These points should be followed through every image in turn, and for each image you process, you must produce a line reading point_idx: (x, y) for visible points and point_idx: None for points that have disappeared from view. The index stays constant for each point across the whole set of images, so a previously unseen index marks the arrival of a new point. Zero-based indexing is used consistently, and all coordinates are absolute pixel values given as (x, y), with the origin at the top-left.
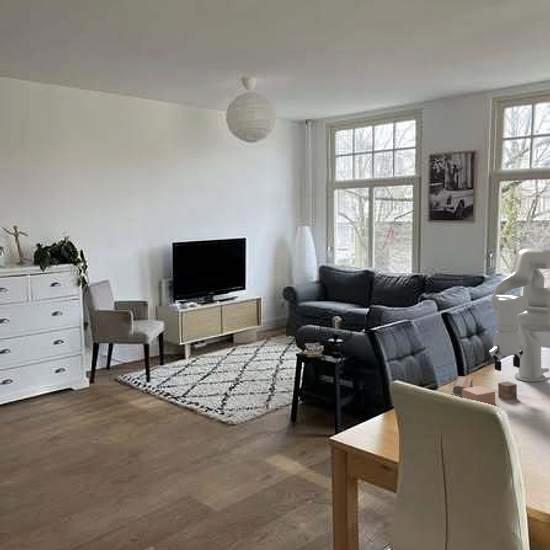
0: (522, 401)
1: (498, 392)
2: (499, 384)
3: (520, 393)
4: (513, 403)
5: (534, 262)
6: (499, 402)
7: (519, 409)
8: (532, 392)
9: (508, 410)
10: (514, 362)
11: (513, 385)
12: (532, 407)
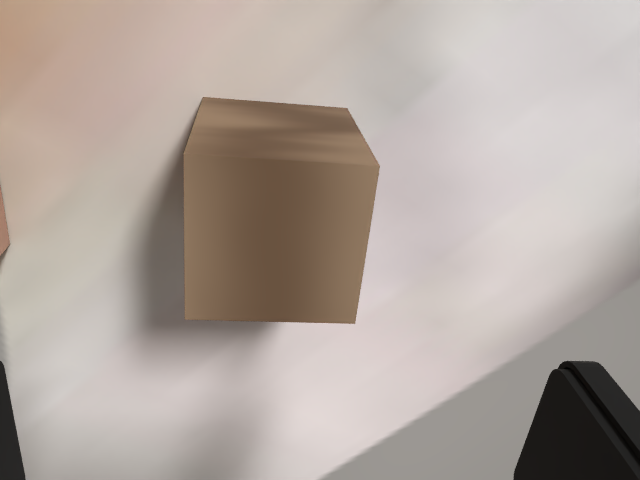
0: None
1: (198, 114)
2: (186, 173)
3: (499, 145)
4: None
5: None
6: (78, 237)
7: (117, 429)
8: (614, 186)
9: None
10: (594, 474)
11: (299, 317)
12: (248, 438)
